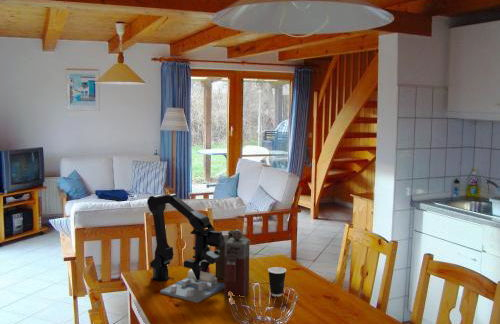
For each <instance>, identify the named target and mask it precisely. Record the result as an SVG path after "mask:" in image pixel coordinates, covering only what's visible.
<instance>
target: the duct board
mask: <svg viewBox="0 0 500 324" xmlns="http://www.w3.org/2000/svg"><path fill="white" fill-rule="evenodd" d="M224 289H225V282H218V278H217V277H215V279H214V281H213V283H209V282H205V281H201V280H197V279H192V278H189V277H188V276H187V277H186V278H184V279H182V280H180V281H177V282H176V283H174V284H172V285H169V286H167V287H165V288H163V289H160V290H159V292H160V293H159V294H162V295H166V296H170V297H174V298H178V299H182V300H186V301H189V302H192V303H197V304H198V303H201V302H202V301H204V300H205V299H208V298H209V297H212V296H213V295H214V294H217V293H219V292H220V291H223V290H224Z"/></svg>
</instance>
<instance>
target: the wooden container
mask: <svg viewBox="0 0 500 324" xmlns="http://www.w3.org/2000/svg"><path fill="white" fill-rule="evenodd" d="M234 231H235V230H232V229H231V230H229V231H228V233H227V234H226V235H223V236H224V244H223V246H222V247H221V248H220V247H215V249H216V250H219V251H220V258H219V259H218V261H217V263H215V278H217V279H220V280H223V281H225V243H226V242H227V241H228V240H229V239H230V238H233V237H232V233H233V232H234ZM242 239H248V238H247V237H245V236H242ZM216 250H215V251H216Z"/></svg>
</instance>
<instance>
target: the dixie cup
mask: <svg viewBox="0 0 500 324" xmlns="http://www.w3.org/2000/svg"><path fill="white" fill-rule="evenodd" d="M267 271H268V279H269V289H270V290H269V291H270V295H271V296H272V297H276V296H277V298H278V297H282V296H283V293H284V288H285V287H284V286H285V279H286V272H287V269H286V268H285V267H280V266H279V267H278V266H275V267H273V266H272V267H269V268H268V269H267Z"/></svg>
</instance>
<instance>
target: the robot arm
mask: <svg viewBox="0 0 500 324" xmlns="http://www.w3.org/2000/svg"><path fill="white" fill-rule="evenodd" d="M146 204H147V207H148V210H149V211H150V213H151V214H152V218H153V225H154V234H155V240H156V241H155V242H156V247H155V250H154V259H152V260H151V261H150V262H149V266H150V267H151V268H152V274H153V275H152V276H153V277H151V278H150V279H151V280H154V281H156V282H163V281H166V280H168V279H171V276H169V269H168V267H169V266H168V265H170V264H171V262H172V260H173V259H174V255H175V254H174V247H173V246H170V244H169V243H168V239H167V237H168V236H167V228H166V223H165V214H164V213H165V210H166V206H167V204H169V205H170V206H172V207H173V208H174V209H175V210H176V211H177V212H179V213H180V214H181V215H183V217H185V218H186V219H187V220H188V222H189V224H190V225H191V227H192V229H193V230H192V231H190V234H191V235H194V246H192V250H194V254H193V255H192V258H188V259H186V260H184V261H183V263H182V265H183V268H187V269H192V271H193V273H194V275H195V277H196V279H197V280H199V279H200V269H201V271H203V272H207V270H208V267H209V268H210V265H214V264H216V263H217V261H218V259H219V258H220V251H219V250H211V247H214V248H216V247H220V248H221V247H222V246H223V244H224V235H223V231H220V230H219V231H217V230H215V228H214V227H213V225H212V223H211V221H210V218H209V216H207V215H205V214H204V213H202V212H198V211H196V210H194V209H193V208H192V207H191V206H190V205H188V204H187V203H186V202H185V201H183V200H182V199H181V198H180V197H178V195H177V194H176V193H170V194H166V195H163V194H161V193H158V194H155V195H151V196H149V197H148V199H147V203H146ZM207 273H208V272H207Z"/></svg>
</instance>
